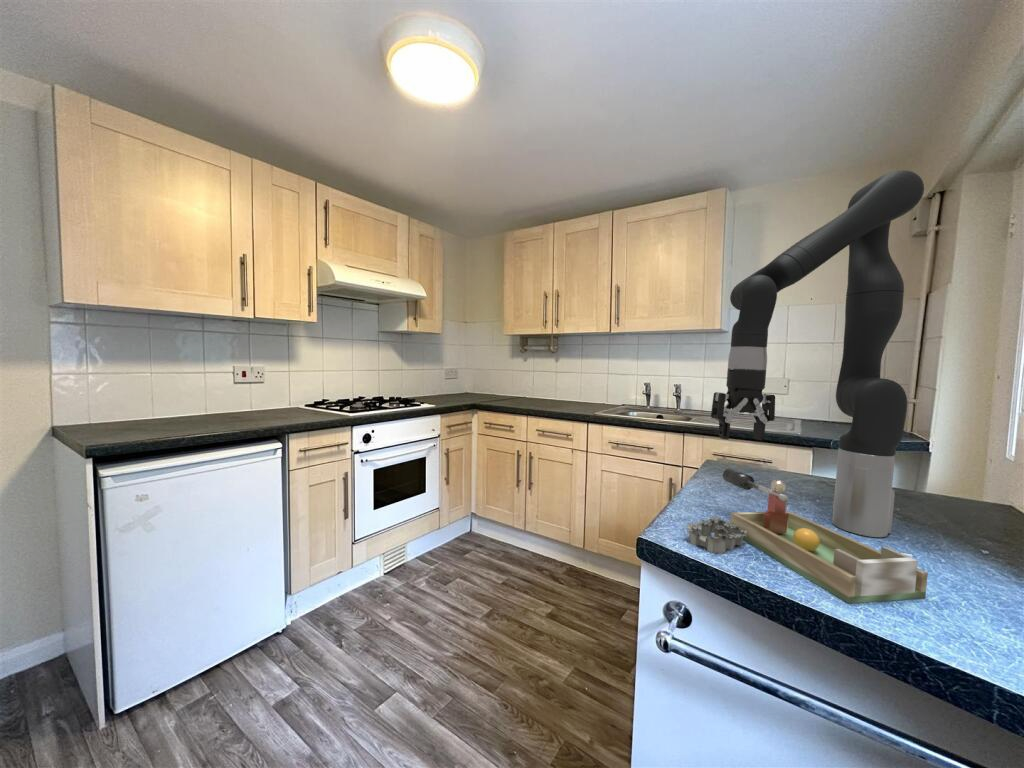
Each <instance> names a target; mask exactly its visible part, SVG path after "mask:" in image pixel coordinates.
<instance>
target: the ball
mask: <svg viewBox="0 0 1024 768" xmlns="http://www.w3.org/2000/svg"><path fill="white" fill-rule="evenodd" d="M793 541H794V543H795V544H796V545H797V546H799V547H801V548H803V549H805V550H806V551H814V550H816V549H817V548H818V547H819V545H820V540H819V537H818V536H817V534H816V533H815V532H813V531H812V530H810V529H806V528H801V529H798V530H796V531H795V532H794V534H793Z"/></svg>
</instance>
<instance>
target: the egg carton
mask: <svg viewBox="0 0 1024 768" xmlns="http://www.w3.org/2000/svg"><path fill="white" fill-rule="evenodd" d="M685 530H686V531H687V532H688V541H690V544H691V545H692V544H693V546H695V547H697V545H699V547H703V548H706V549H707V552H708V551H709V552H708V553H711V554H720V555H723V554H726V552H725V551H726V550H730V551H732V550H734V548H735V546H738V547H743V546H744V540H743V538H744V535H745V536H746V533H747V531H746V530H744V531H742V530H740V529H739V527H738V525H736V526H735V525H733V524H732V523H730V521H727V520H726V519H725V520H723V519H721V518H720V517H718V516H717V515H713V516H712V517H710V518H708V519H707V518H706V519H704V518H702V519H701V520H698V521H696V522H695V523H694V522H693V523H692V522H689V523H687V525H686V528H685ZM712 534H714V536H712Z"/></svg>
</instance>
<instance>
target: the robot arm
mask: <svg viewBox="0 0 1024 768" xmlns="http://www.w3.org/2000/svg"><path fill="white" fill-rule="evenodd" d="M924 191H925V184H924V182H923V179H922V177H921V176H920V175H919V174H918V173H916V172H914V171H912V170H907V169H905V170H904V169H902V170H895V171H891V172H888V173H886V174H883V175H881V176H879V177H878V178H876V179H874V180H873V181H871V182H869V183H867V184H866V185H865V186H863V187H862V188H860V189H859V190H857V191H856V192H855V193H854V194H853V195H852V197H851V198H850V200H849V201H848V205H847V209H846V210H845V211H844V212H842V213H841V214H839V215H837V217H835V218H834V219H832V220H830V221H829V222H827V223H826V224H824V225H822V226H821V227H819V228H818V229H816V230H814V231H812V232H810V233H809V234H808V235H806V236H805V237H803V238H802V239H800V240H799V241H797V242H795V243H793V244H792V245H791V246H790V247H789V248H787V249H786V250H784V251H783V252H782V253H780V254H779V255H778V256H776V257H775V258H773V260H772V261H770V262H769V263H768V264H766V265H765V266H763V267H761V269H759V270H757V271H755V272H754V273H752V274H750V275H749V276H747V277H746V278H744V279H743V280H741V281H740V282H738V283H737V284H736V285H735V286H734V287H733V288H732V290H731V293H730V295H729V297H730V298H729V299H730V303H731V305H732V307H734V309H736V310H737V311H739V313H738V319H737V320H736V322H735V323H734V324H733V326H732V329H731V337H730V338H731V339H730V348H729V349H730V350H729V354H728V361H727V371H726V387H727V391H726V393H724V392H718V391H717V392H716V391H715V392H714V393H713V397H712V403H711V405H712V406H711V413H710V417H711V419H713V420H717V421H718V433H717V434H718V436H719V438H720V439H722V440H730V431H731V422H730V421H732V419H733V418H734V417H735V416H737V415H738V414H744V413H747V414H749V415H751V417H752V418H753V420H754V422H753V430H752V431H753V432H752V438H753V439H755V440H759V441H762V440H763V439H764V437H765V433H766V431H765V430H766V425H767V423H768V422H773V421H775V419H776V418H775V416H776V396H775V394H769V393H763V390H765V388H766V381H767V379H766V377H767V366H768V352H767V351H768V350H767V349H768V337H769V326H770V323H771V321H772V319H773V314H774V311H775V308H776V304H777V299H778V293H779V292H780V291H782V290H784V289H787V288H788V287H790V286H792V285H795V284H796V283H798V282H799V281H801V280H803V279H804V278H805V277H807V276H808V275H809V274H811V273H813V272H814V271H815V270H817V269H818V268H819V267H821V266H822V265H823V264H825V263H826V262H828V261H829V260H830V259H832V258H833V257H834V256H836V255H837V254H839V253H840V252H841V251H843V250H844V249H846V247H848V249H849V250H848V252H849V253H848V265H847V266H848V267H847V287H846V288H847V289H846V293H845V295H846V297H845V308H844V309H845V311H844V314H845V316H844V318H845V319H844V333H843V345H842V346H843V347H842V348H843V350H842V351H843V352H842V360H841V363H840V370H839V375H838V381H837V385H836V390H835V391H836V392H835V402H836V405H837V407H838V409H839V410H840V411H841V412H842V413H843V414H845V415H846V416H848V417H852V421H851V425H850V429H849V431H848V432H846V433H845V434H842V435H841V436H840V437H839V438H838V439H839V440H838V451H837V463H836V474H835V475H836V476H835V486H834V497H833V508H832V519H831V523H832V525H834V526H836V527H837V528H838V529H841V530H844V531H846V532H848V533H849V532H850V533H852V534H856V535H860V536H863V537H864V536H865V537H869V538H870V537H871V538H886V537H887V536H888V533H891V534H892V526H893V516H894V505H895V494H896V491H895V489H893V485H894V484H893V480H894V472H895V461H896V451H897V447H898V446H899V445H900V443H901V442H902V440H903V436H904V432H905V431H904V430H905V425H906V417H907V412H908V397H907V393H906V391H905V389H904V387H903V386H902V385H901V384H899V383H898V382H896V381H894V380H893V379H889V378H884V377H883V378H882V377H881V372H882V371H881V369H882V359H883V354H884V351H885V349H886V347H887V346H888V343H889V341H890V339H891V338H892V336H893V334H894V333H895V331H896V329H897V327H898V325H899V322H900V321H901V318H902V314H903V309H904V308H903V307H904V297H905V296H904V295H905V284H904V283H905V282H904V280H903V279H904V278H903V276H902V275H901V272H900V271H899V270H900V269H898V266H897V265H896V263H895V262H894V259H893V258H892V256H891V254H890V250H889V237H890V227H891V222H892V221H893V220H896V219H898V218H900V217H902V216H904V215H906V214H907V213H909V212H910V211H912V210H913V209H914V208H915V207H916V206H917V205H918V204H919V202H920V201H921V200H922V198H923V195H924V193H925V192H924ZM726 402H727V403H726Z"/></svg>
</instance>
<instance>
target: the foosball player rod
mask: <svg viewBox="0 0 1024 768" xmlns="http://www.w3.org/2000/svg"><path fill="white" fill-rule="evenodd" d="M722 478H723V480H724V481H725V482H727V483H729V484H731V485H733V486H737V487H739V488H741V489H743V490H745V491H749V490H751V489H755V490H756V491H759V492H762V493H764V494H766V495H768V498H767V499H768V500H767V510H765V511H763V512H764V525H763V528H765V529H767V530H769V531H771V532H773V533H774V534H780V533H787V520H788V514H787V513H785V511H787V510H786V507H787V502H788V501H789V499H790V497H789V496H788V495H786V494H783V493H784V492H785V491H786V490H787V485H786V483H785V482H784V481H783V480H781V479H774V480H772V482H771V483H770V488H769V487H767V486H764V485H761V484H759V483H757V482H755V479H754V478H753V476H752V475H748V474H746V473H743V472H741V471H738V470H737V469H733V468H726V469H725V470H724V471H723V474H722Z"/></svg>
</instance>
